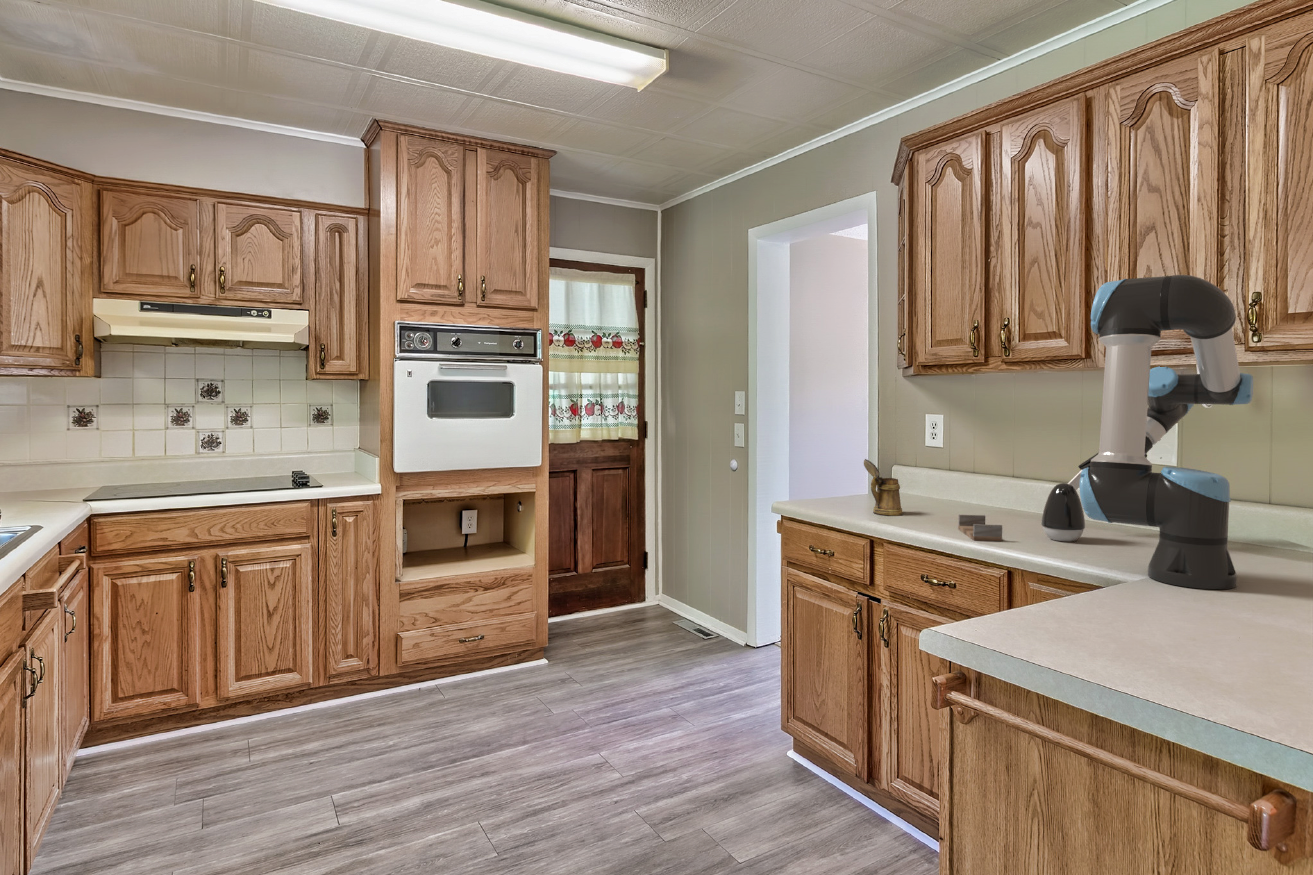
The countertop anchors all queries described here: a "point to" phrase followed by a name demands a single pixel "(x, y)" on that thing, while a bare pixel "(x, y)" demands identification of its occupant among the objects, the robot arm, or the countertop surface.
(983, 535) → the walnut riser
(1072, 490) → the black egg roly-poly
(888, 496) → the wooden mug
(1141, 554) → the countertop surface
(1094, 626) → the countertop surface
